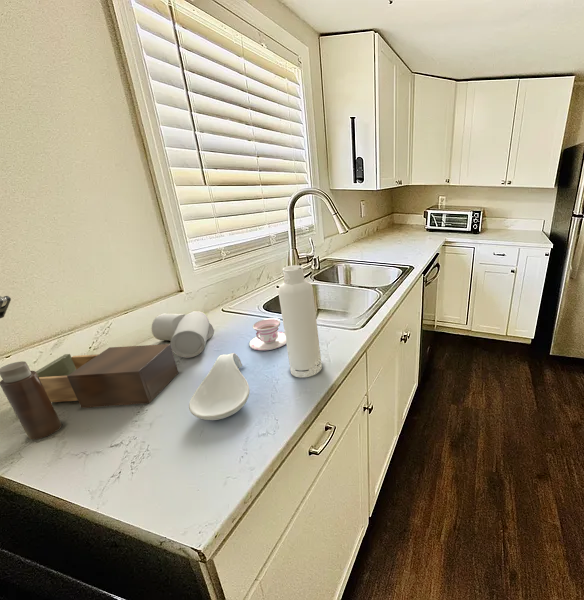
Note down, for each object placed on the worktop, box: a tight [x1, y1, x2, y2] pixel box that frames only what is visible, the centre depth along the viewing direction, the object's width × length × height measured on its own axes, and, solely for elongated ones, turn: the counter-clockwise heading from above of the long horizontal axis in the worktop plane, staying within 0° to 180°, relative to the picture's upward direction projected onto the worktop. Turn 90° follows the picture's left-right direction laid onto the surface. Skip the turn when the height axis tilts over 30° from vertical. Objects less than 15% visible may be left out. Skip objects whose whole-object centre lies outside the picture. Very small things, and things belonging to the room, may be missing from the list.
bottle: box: [277, 264, 323, 378], centre depth 82 cm, size 8×8×28 cm
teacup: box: [248, 317, 287, 352], centre depth 101 cm, size 12×12×6 cm
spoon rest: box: [188, 352, 251, 421], centre depth 76 cm, size 24×12×7 cm, turn 20°
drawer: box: [35, 353, 100, 403], centre depth 77 cm, size 18×11×7 cm, turn 96°
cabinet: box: [67, 343, 180, 409], centre depth 78 cm, size 15×13×9 cm
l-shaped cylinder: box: [151, 310, 215, 358], centre depth 99 cm, size 18×10×20 cm
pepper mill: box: [0, 360, 63, 440], centre depth 64 cm, size 5×5×16 cm
